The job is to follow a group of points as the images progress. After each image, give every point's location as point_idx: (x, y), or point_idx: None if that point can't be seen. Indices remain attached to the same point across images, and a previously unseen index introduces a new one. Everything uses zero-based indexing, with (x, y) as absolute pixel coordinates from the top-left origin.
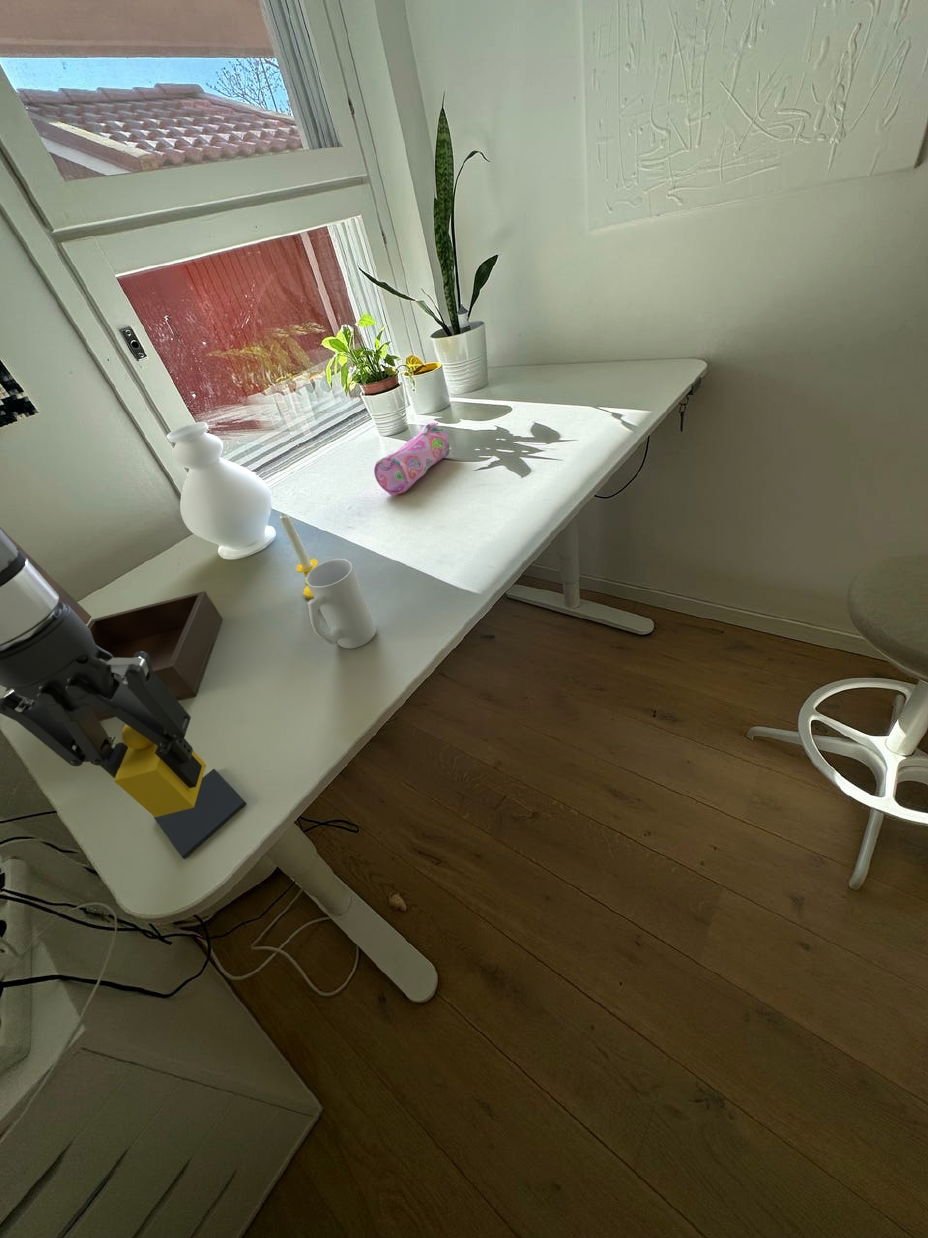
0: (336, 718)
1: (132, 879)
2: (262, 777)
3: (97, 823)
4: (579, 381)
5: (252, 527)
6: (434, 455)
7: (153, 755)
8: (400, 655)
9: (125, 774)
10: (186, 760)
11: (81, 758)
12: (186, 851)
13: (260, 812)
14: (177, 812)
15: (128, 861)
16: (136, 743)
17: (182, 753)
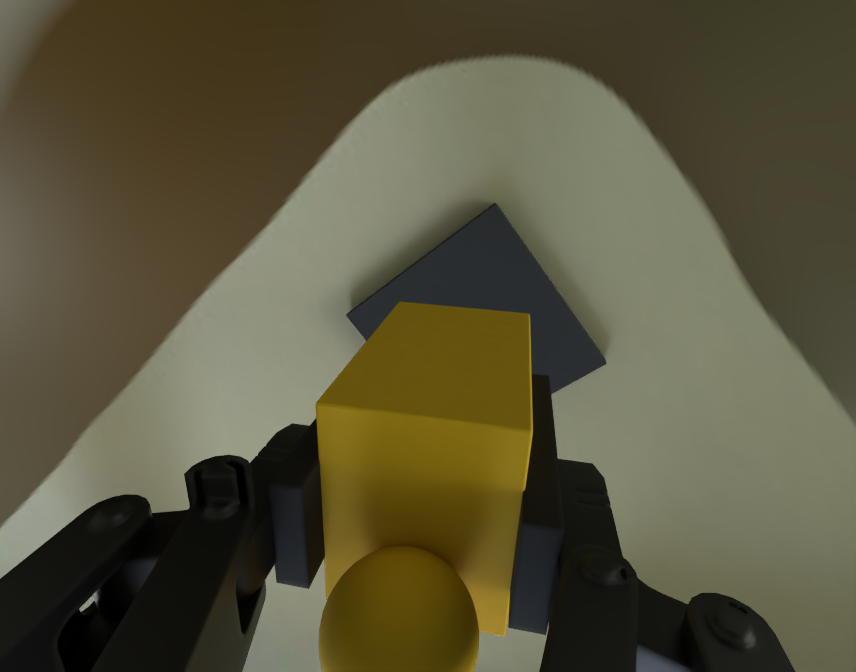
0: (177, 458)
1: (649, 189)
2: (324, 372)
3: (799, 416)
4: None
5: None
6: None
7: (360, 491)
8: None
9: (472, 442)
10: (294, 429)
11: (687, 637)
12: (482, 217)
13: (308, 273)
14: (535, 353)
15: (673, 254)
16: (382, 582)
17: (266, 454)
